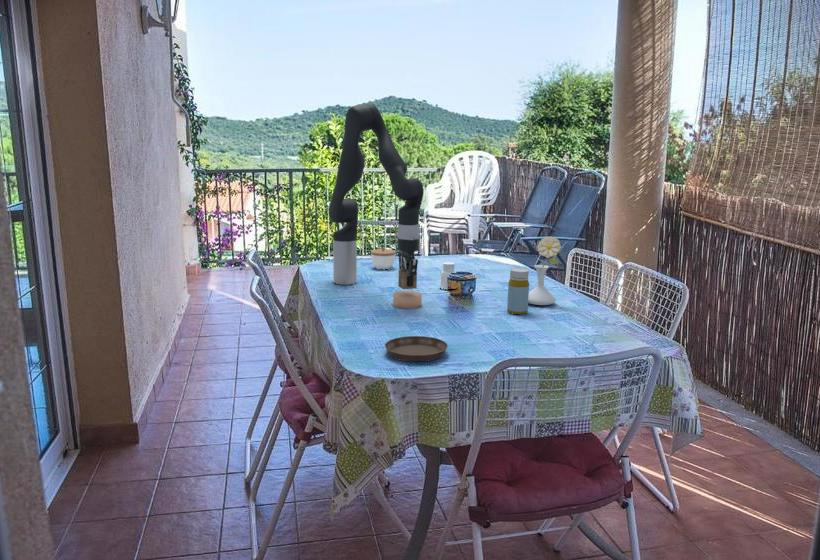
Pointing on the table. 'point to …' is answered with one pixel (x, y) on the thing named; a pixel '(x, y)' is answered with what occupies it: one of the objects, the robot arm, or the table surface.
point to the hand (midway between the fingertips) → (407, 284)
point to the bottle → (518, 291)
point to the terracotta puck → (407, 299)
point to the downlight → (446, 273)
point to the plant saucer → (416, 348)
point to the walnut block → (403, 280)
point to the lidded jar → (383, 258)
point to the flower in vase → (540, 293)
